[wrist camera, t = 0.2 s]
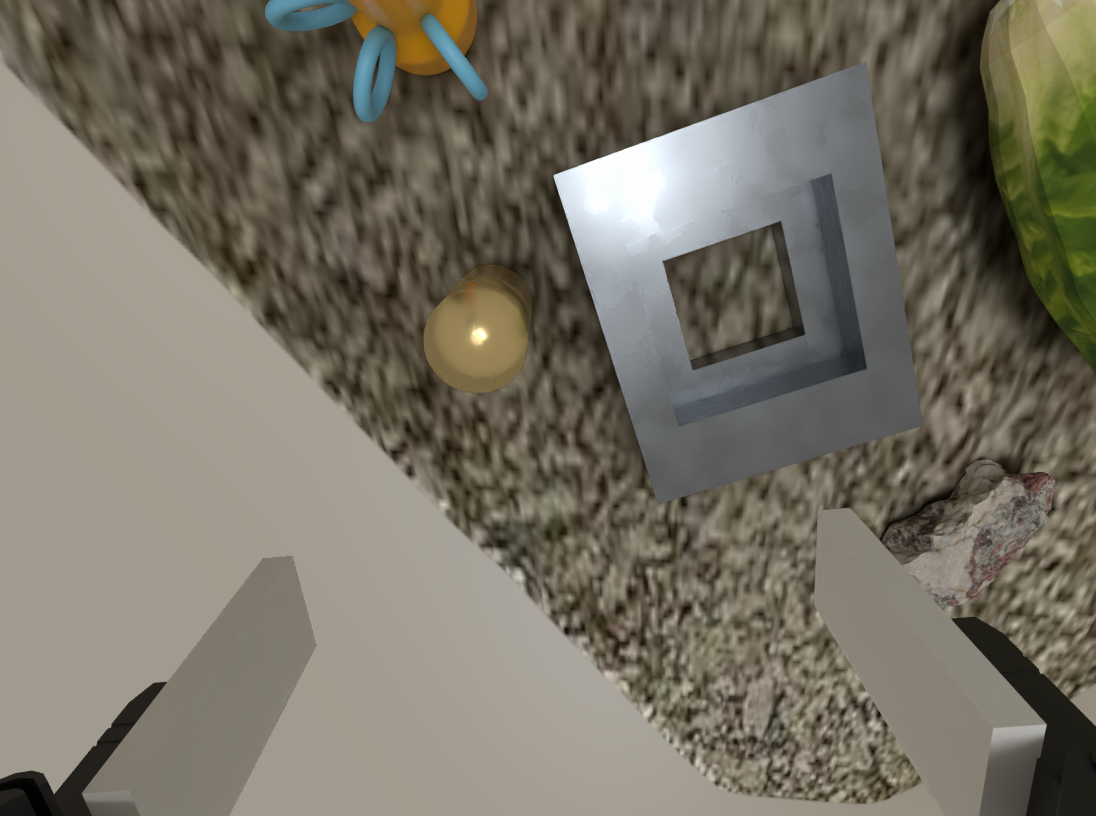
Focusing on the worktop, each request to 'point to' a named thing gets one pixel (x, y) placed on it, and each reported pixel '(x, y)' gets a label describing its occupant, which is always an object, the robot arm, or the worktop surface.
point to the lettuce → (1048, 149)
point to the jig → (808, 272)
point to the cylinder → (393, 40)
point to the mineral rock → (971, 531)
